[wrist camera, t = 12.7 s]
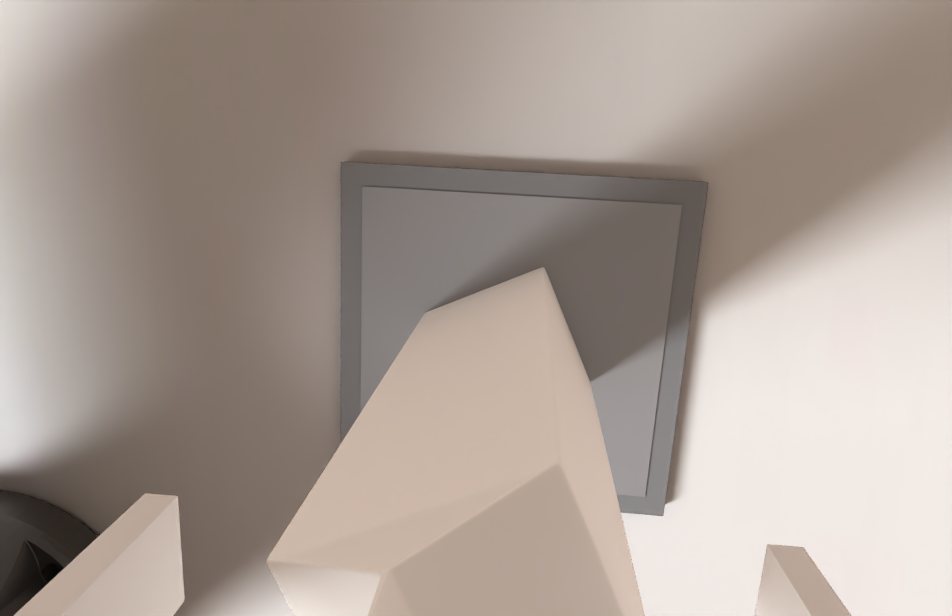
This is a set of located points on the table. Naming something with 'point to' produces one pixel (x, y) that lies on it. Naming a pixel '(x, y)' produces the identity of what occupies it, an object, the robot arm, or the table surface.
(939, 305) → the table surface
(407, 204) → the mat
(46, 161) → the table surface
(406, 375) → the milk
